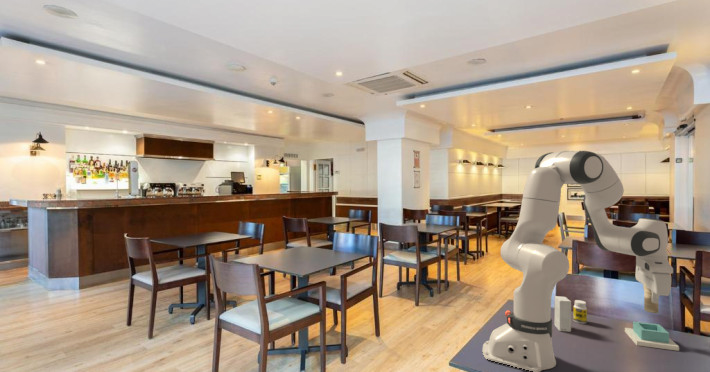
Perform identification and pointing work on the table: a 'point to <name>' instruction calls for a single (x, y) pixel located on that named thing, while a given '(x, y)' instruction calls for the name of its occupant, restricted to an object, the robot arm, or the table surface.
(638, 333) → the socket block
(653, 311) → the maple peg
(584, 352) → the table surface
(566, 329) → the skincare box
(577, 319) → the supplement bottle
